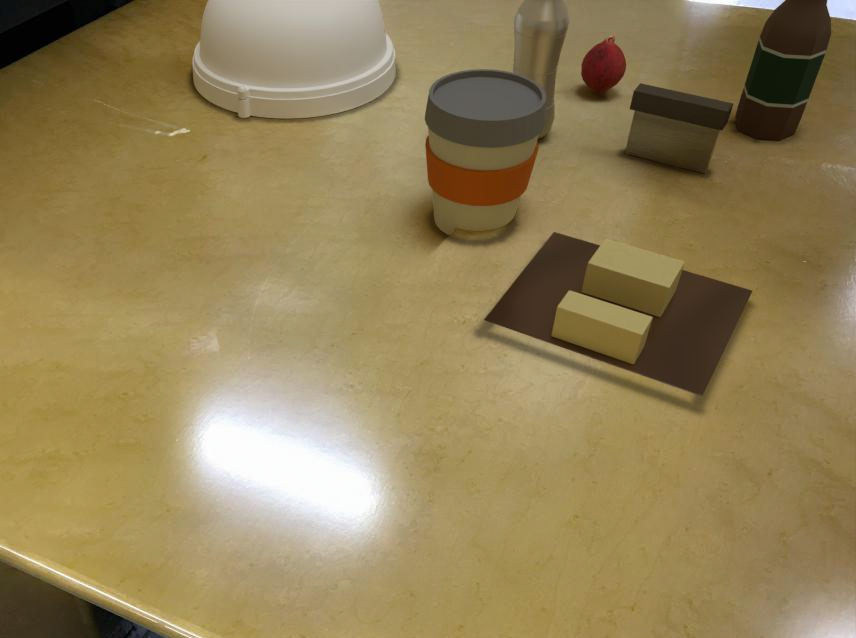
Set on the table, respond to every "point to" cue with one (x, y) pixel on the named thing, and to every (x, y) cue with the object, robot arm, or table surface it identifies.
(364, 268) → the table surface
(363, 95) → the dome cover
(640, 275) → the butter block
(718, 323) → the cutting board
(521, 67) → the plastic bottle
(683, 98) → the bench scraper
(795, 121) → the beer bottle
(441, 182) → the reusable coffee cup
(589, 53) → the pomegranate
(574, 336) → the butter slice
